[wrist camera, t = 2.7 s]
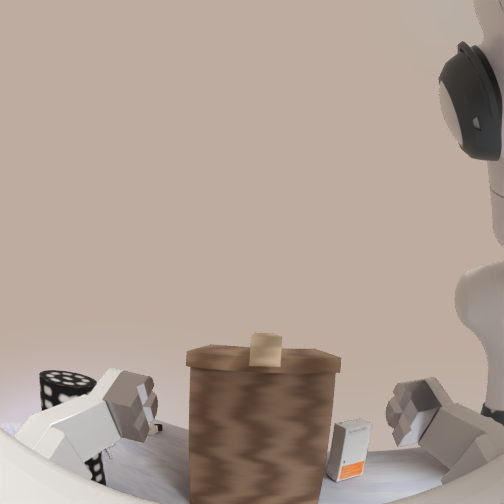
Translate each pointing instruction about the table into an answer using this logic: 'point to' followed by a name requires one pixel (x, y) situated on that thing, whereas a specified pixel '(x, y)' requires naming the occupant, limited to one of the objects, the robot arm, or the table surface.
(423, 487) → the table surface
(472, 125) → the robot arm
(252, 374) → the stand
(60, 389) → the white-spotted black cylinder
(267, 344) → the rod
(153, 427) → the watch
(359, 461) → the skincare box
